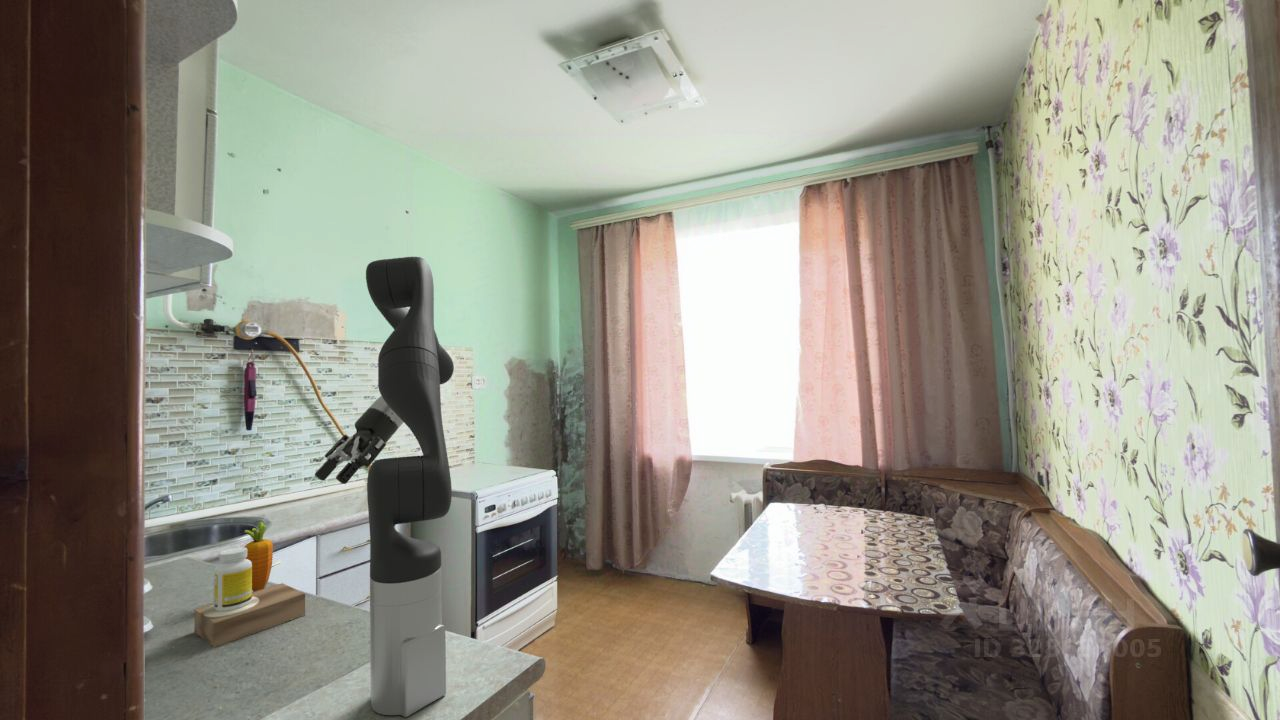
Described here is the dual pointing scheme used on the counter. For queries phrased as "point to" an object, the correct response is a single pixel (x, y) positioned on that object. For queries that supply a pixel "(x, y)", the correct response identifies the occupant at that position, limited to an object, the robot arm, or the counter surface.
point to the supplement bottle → (233, 580)
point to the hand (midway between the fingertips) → (329, 479)
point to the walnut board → (250, 615)
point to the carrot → (259, 557)
